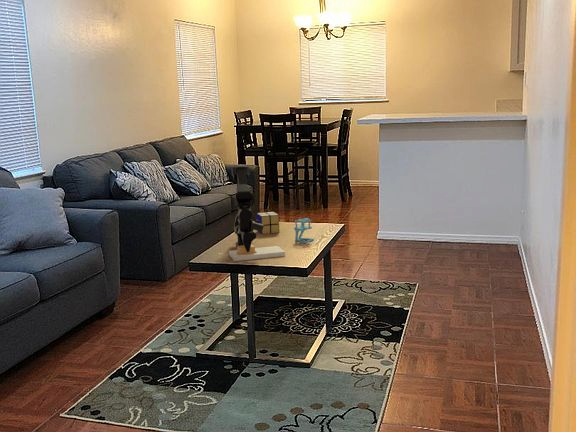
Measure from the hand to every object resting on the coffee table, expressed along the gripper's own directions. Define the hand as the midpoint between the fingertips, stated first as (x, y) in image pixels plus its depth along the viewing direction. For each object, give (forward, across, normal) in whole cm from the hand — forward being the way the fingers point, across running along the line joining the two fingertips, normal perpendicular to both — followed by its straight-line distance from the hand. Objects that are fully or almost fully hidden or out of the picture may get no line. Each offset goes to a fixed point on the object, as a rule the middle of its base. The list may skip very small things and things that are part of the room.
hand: (246, 250), depth 295 cm
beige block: (+3, 0, 0) cm, 3 cm away
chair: (+3, +19, -34) cm, 39 cm away
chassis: (+3, 0, -5) cm, 6 cm away
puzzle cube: (+3, +47, -23) cm, 52 cm away
